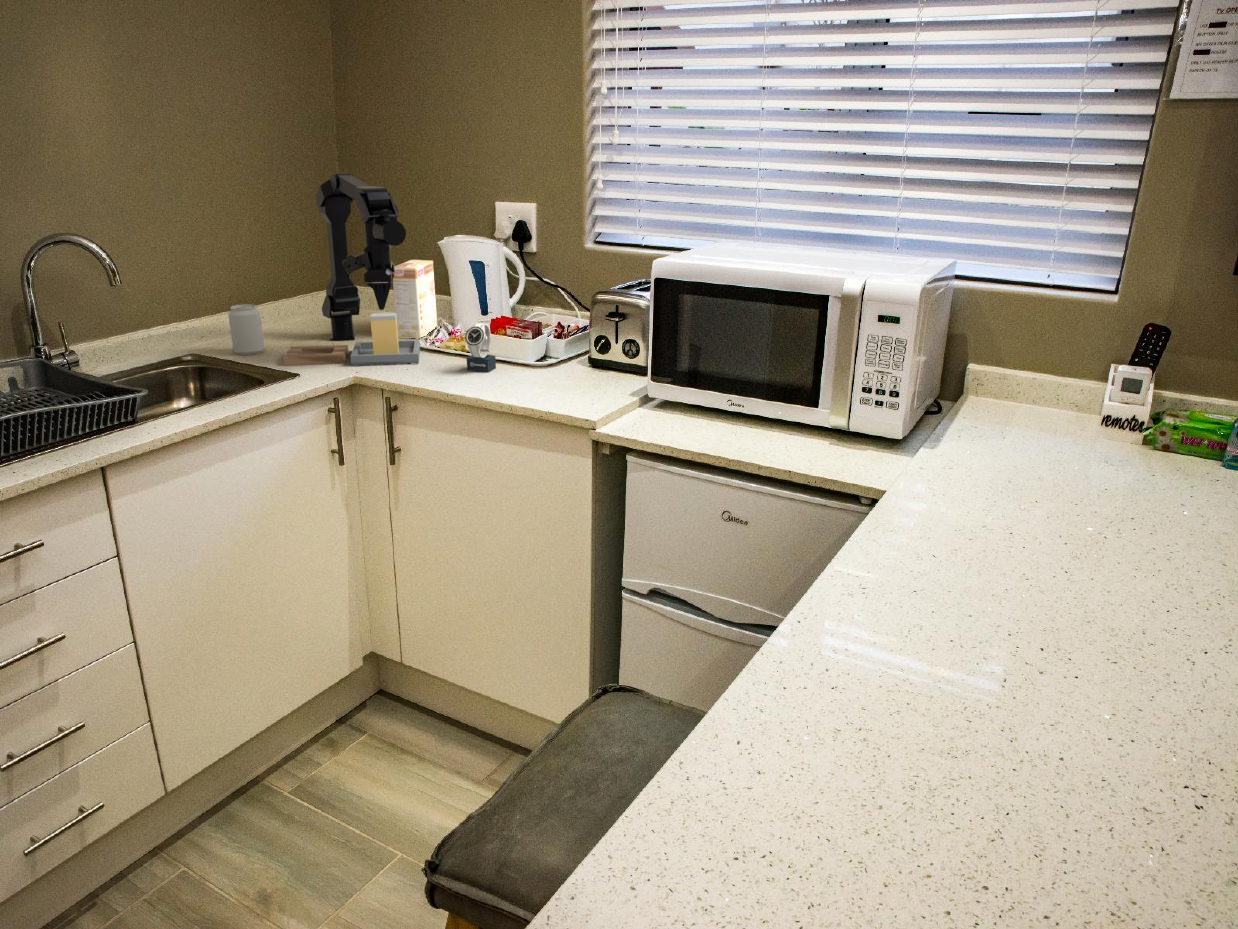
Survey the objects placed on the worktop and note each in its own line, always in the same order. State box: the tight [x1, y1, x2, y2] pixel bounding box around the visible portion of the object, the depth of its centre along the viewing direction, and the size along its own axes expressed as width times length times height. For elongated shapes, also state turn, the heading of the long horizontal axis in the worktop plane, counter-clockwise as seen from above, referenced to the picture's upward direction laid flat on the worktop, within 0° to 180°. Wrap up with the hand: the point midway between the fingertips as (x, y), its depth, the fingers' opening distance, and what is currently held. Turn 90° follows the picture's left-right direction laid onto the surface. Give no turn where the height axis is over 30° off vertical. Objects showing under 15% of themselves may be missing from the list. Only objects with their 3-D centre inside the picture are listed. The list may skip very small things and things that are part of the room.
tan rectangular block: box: [369, 312, 399, 354], centre depth 232 cm, size 4×6×10 cm, turn 100°
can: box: [228, 304, 265, 356], centre depth 236 cm, size 8×8×12 cm
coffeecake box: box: [391, 259, 438, 340], centre depth 257 cm, size 15×7×20 cm, turn 172°
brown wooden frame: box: [283, 344, 350, 367], centre depth 231 cm, size 12×14×2 cm
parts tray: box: [350, 339, 421, 367], centre depth 233 cm, size 16×16×2 cm
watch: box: [464, 322, 497, 373], centre depth 221 cm, size 6×8×11 cm
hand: (382, 306), depth 229 cm, fingers open, 9 cm apart
